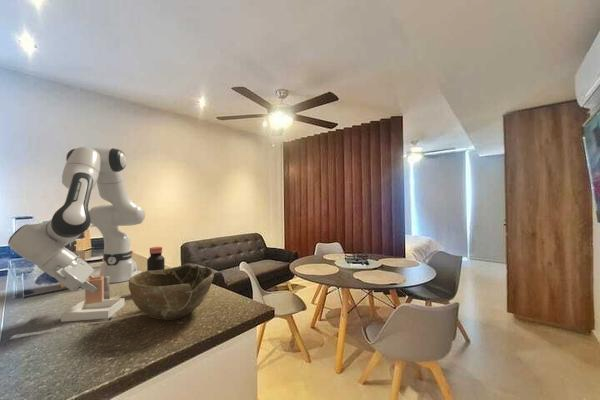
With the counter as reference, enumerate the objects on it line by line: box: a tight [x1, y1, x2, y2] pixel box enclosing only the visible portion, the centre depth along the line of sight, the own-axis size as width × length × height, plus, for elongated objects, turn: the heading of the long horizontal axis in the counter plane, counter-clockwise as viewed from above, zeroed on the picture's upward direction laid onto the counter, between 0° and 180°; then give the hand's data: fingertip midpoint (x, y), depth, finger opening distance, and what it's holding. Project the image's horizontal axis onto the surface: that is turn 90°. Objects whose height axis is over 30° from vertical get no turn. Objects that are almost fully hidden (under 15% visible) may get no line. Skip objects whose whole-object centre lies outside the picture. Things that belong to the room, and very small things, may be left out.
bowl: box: [128, 264, 215, 321], centre depth 95 cm, size 28×27×15 cm
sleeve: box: [84, 276, 104, 305], centre depth 95 cm, size 5×5×8 cm
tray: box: [60, 297, 126, 324], centre depth 95 cm, size 12×14×4 cm
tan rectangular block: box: [59, 240, 86, 289], centre depth 131 cm, size 13×9×22 cm
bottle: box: [146, 246, 166, 271], centre depth 119 cm, size 7×7×20 cm
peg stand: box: [103, 276, 122, 300], centre depth 107 cm, size 9×9×10 cm
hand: (97, 288), depth 96 cm, fingers closed on sleeve, 5 cm apart
